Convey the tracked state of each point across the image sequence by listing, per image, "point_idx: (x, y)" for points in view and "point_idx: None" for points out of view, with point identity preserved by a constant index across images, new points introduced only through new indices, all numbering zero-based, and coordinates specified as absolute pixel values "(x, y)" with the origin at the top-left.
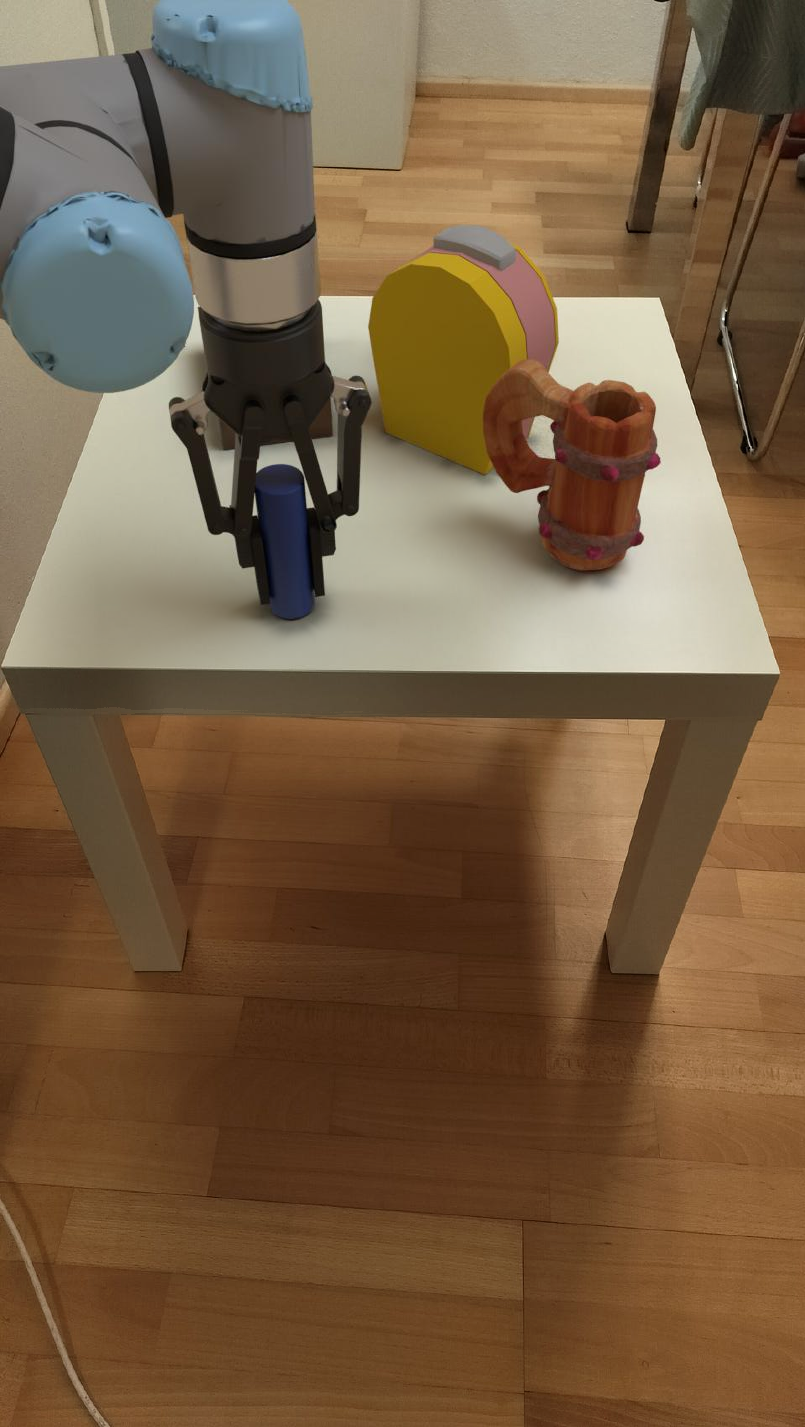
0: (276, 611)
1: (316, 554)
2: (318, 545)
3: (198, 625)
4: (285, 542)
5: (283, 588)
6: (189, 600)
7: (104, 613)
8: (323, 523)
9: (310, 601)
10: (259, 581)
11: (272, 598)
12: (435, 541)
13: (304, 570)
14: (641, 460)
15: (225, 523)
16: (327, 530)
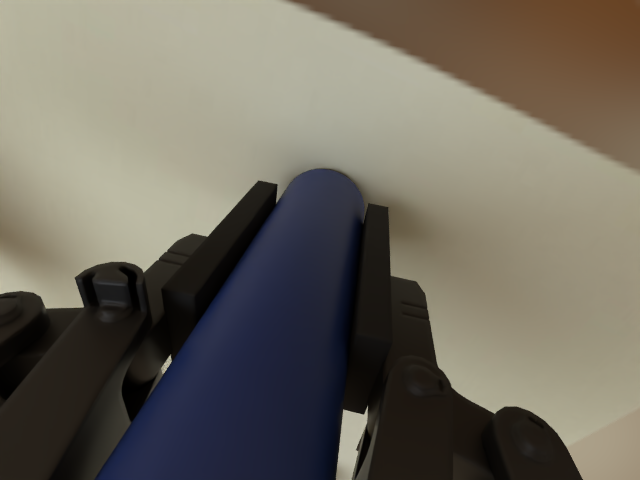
0: (359, 194)
1: (223, 239)
2: (201, 254)
3: (499, 228)
4: (286, 289)
5: (335, 208)
6: (480, 285)
7: (626, 316)
8: (128, 301)
9: (290, 185)
10: (384, 239)
11: (359, 213)
12: (79, 239)
13: (273, 222)
14: None
15: (476, 441)
16: (131, 274)
